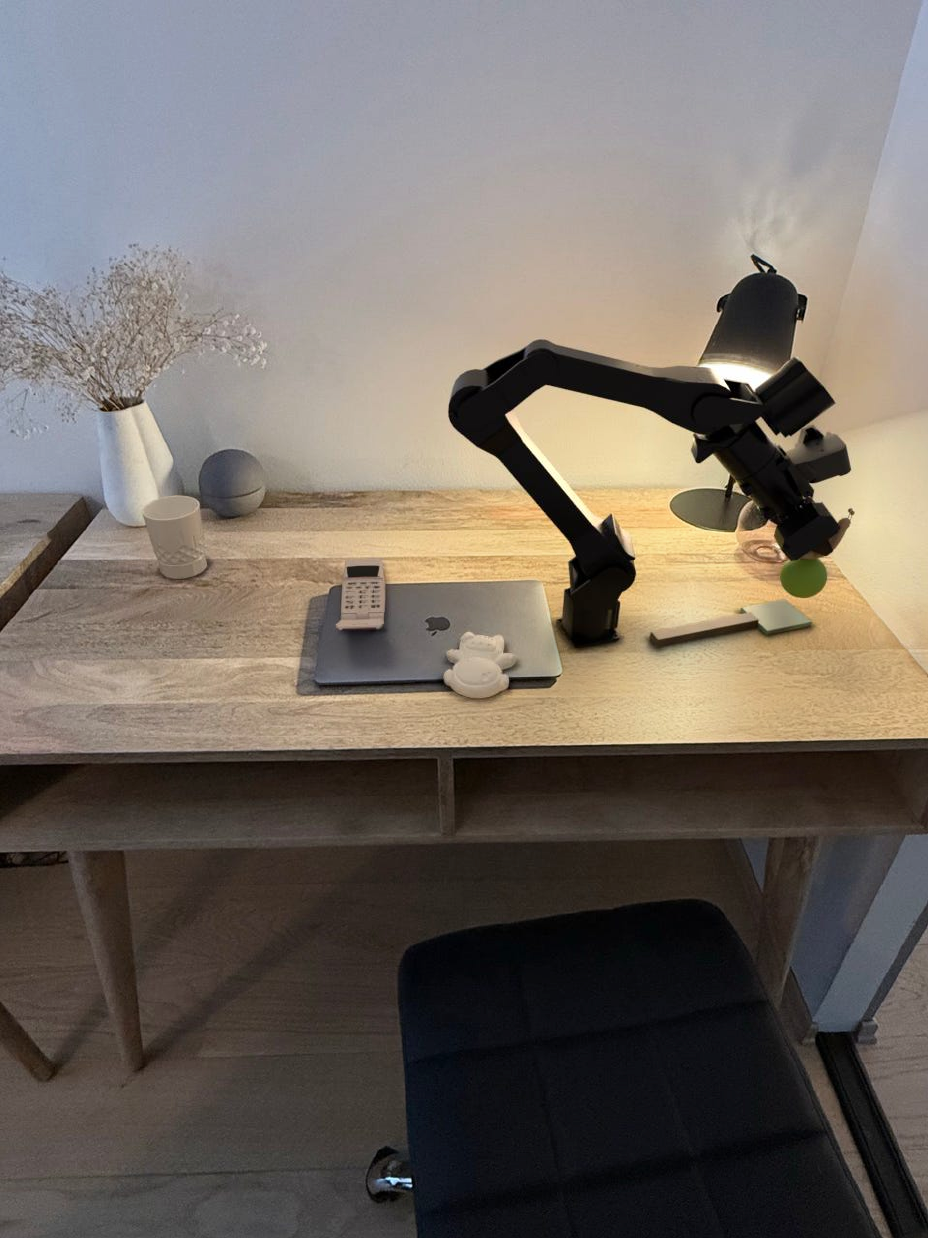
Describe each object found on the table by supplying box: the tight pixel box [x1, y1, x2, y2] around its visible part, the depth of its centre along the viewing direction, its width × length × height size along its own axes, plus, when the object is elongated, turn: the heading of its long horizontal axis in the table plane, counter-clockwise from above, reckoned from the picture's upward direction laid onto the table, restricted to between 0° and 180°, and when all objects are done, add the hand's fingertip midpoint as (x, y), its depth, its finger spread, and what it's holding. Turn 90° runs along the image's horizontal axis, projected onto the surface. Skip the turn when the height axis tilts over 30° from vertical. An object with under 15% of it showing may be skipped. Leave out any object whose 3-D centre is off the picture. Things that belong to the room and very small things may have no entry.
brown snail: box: [779, 507, 855, 599], centre depth 100 cm, size 5×6×12 cm
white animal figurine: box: [443, 631, 518, 699], centre depth 101 cm, size 9×12×3 cm
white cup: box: [141, 495, 208, 580], centre depth 120 cm, size 8×8×10 cm
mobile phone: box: [335, 557, 386, 631], centre depth 111 cm, size 6×6×25 cm
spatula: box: [649, 598, 813, 648], centre depth 109 cm, size 22×6×1 cm, turn 108°
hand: (826, 549), depth 100 cm, fingers closed on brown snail
